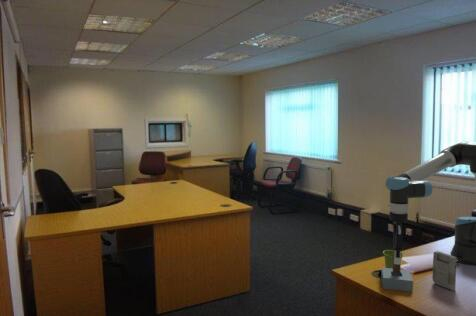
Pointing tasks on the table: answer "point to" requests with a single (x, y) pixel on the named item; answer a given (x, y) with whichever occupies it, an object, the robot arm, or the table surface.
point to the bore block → (396, 280)
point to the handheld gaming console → (444, 270)
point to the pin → (395, 266)
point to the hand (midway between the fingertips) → (396, 262)
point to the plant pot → (389, 258)
